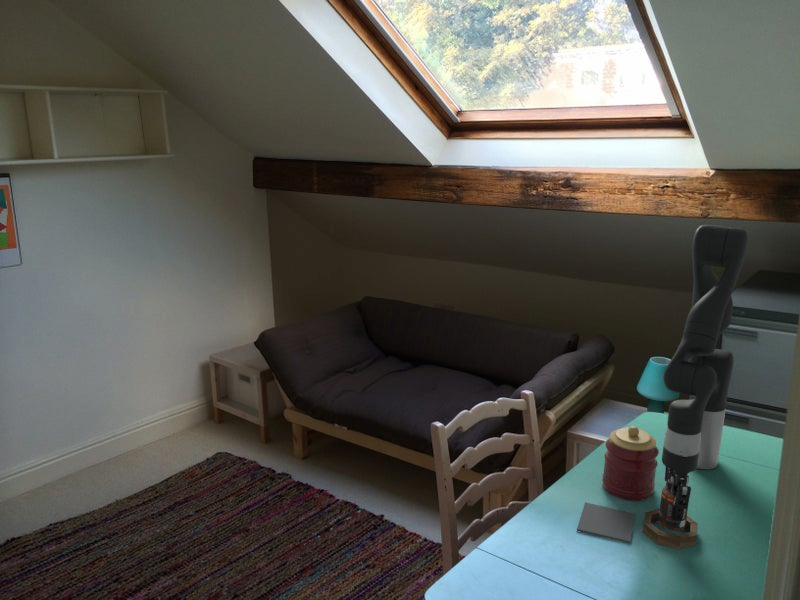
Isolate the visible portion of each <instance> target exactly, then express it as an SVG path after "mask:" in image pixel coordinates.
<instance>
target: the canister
mask: <svg viewBox="0 0 800 600" xmlns="http://www.w3.org/2000/svg"><path fill="white" fill-rule="evenodd" d="M605 448H606V451H605V453H604V456H603V457H604V462H603V463H604V464H603V473H602V475H601V476H602V478H601V481H602V485H603V486H602V487H603V488H604V490H605V491H606V492H607V493H608V494H610V495H612V497H613V496H614V497H615V498H618V499H621V500H625V501H632V502H635V501H636V502H637V501H638V502H639V501H644V500H647V499H650V497H652V496H653V494H654V491H655V489H656V488H655V486H656V482H655V480H656V473H657V472H656V471H657V467H658V460H657V457H658V456H659V452H660V451H659V450H660V449H659V448H658V446H657V441H656V439H655V437H653V436H652V435H651V434H650V433H648V432H647V431H645V430H644V429H640V428H638V426H635V425H631V426H629V427H628V426H627V427H621V428H619V429H616V430H613V431H611V433H610V434H609V438H607V440H606V442H605Z"/></svg>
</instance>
